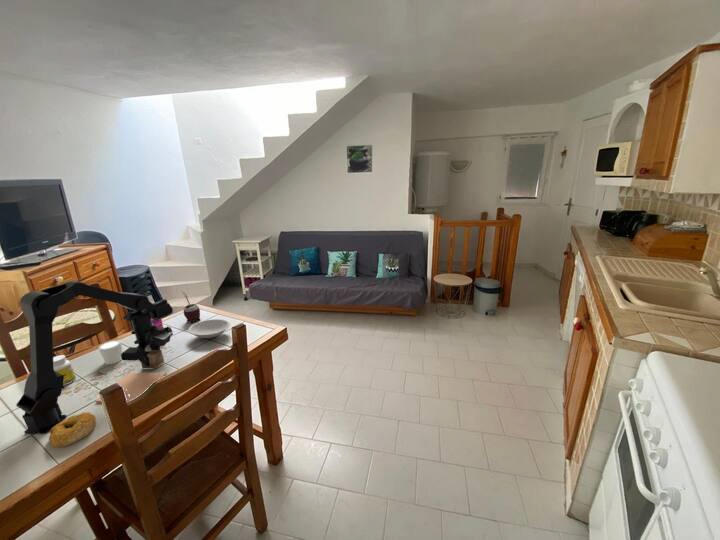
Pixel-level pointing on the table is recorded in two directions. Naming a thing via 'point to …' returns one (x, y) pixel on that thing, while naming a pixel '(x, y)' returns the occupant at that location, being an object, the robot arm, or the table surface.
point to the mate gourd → (191, 311)
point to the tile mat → (136, 383)
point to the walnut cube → (154, 359)
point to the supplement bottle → (64, 368)
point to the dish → (209, 328)
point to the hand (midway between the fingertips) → (152, 362)
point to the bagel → (72, 429)
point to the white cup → (111, 351)
